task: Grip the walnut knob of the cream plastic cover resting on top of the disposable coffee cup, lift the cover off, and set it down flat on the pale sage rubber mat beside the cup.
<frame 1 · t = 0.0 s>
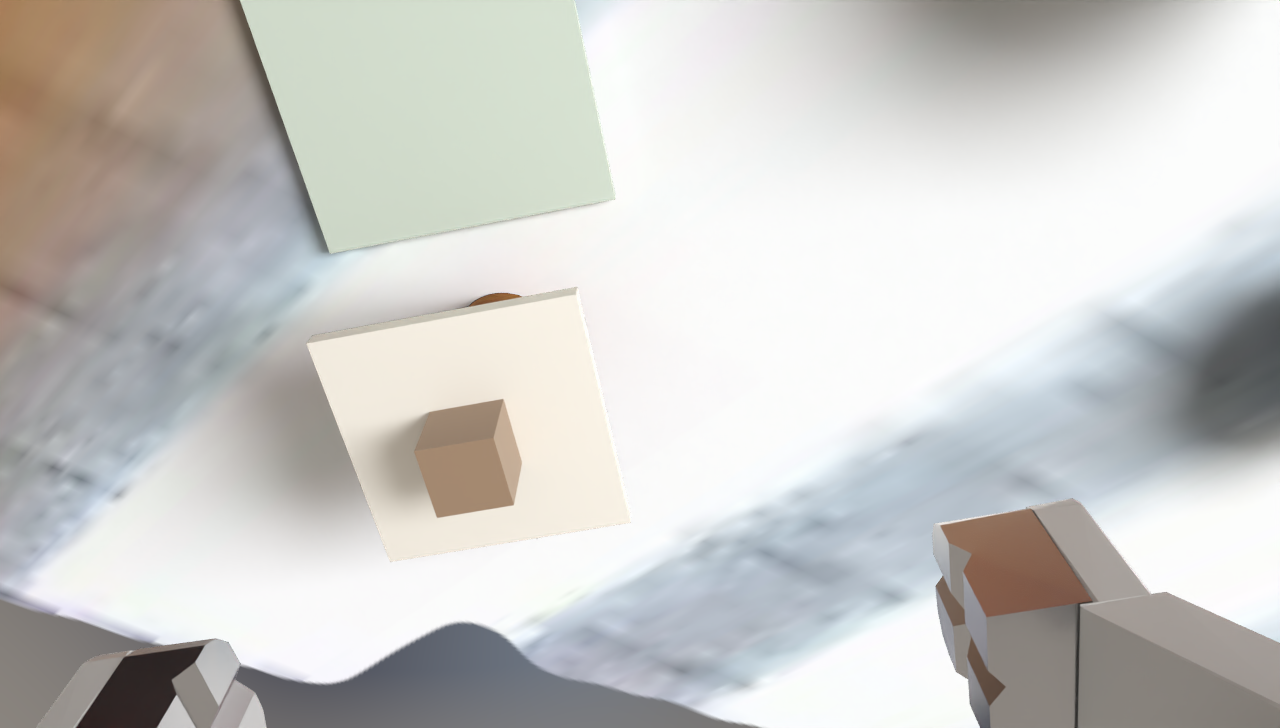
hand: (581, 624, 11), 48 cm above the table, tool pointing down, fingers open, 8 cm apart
cover: (479, 428, 51), point 12 cm above the table, touching disposable coffee cup
disposable coffee cup: (506, 335, 62), on the table, touching cover
mat: (437, 92, 55), on the table
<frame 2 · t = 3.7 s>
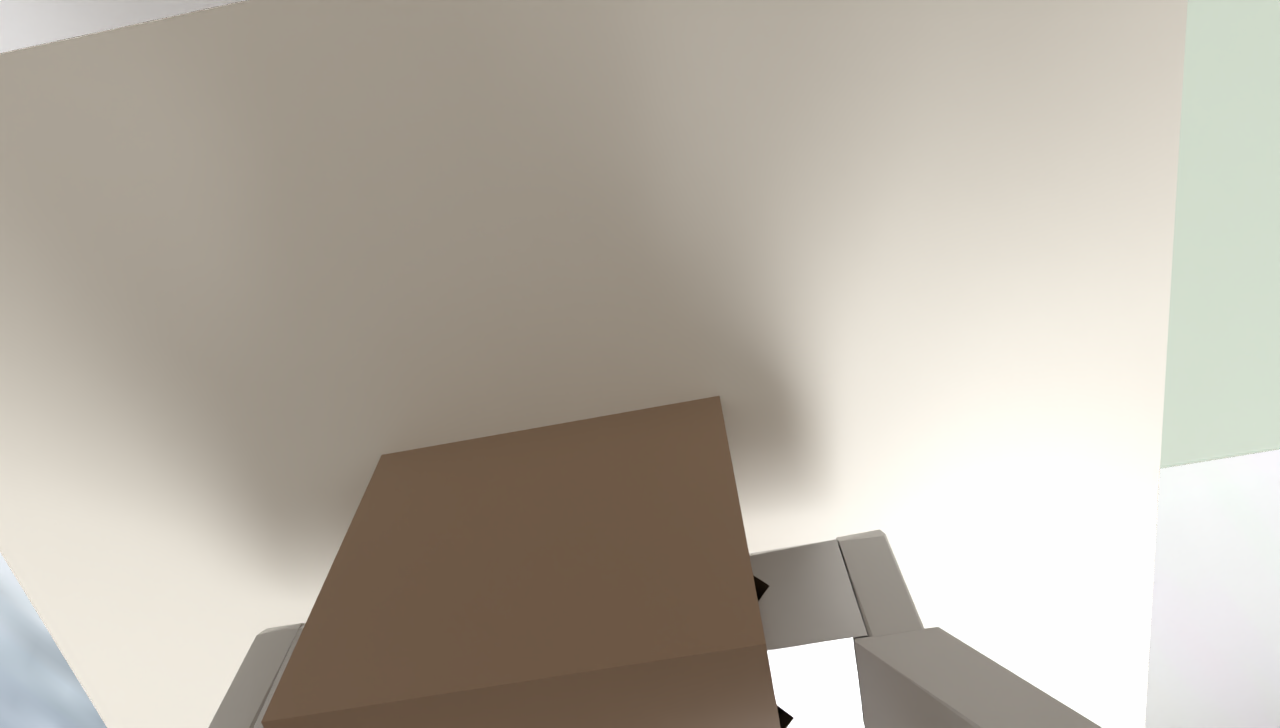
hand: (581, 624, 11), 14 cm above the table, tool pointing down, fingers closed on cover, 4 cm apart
cover: (588, 515, 13), point 12 cm above the table, touching disposable coffee cup, gripper
mat: (1270, 110, 22), on the table
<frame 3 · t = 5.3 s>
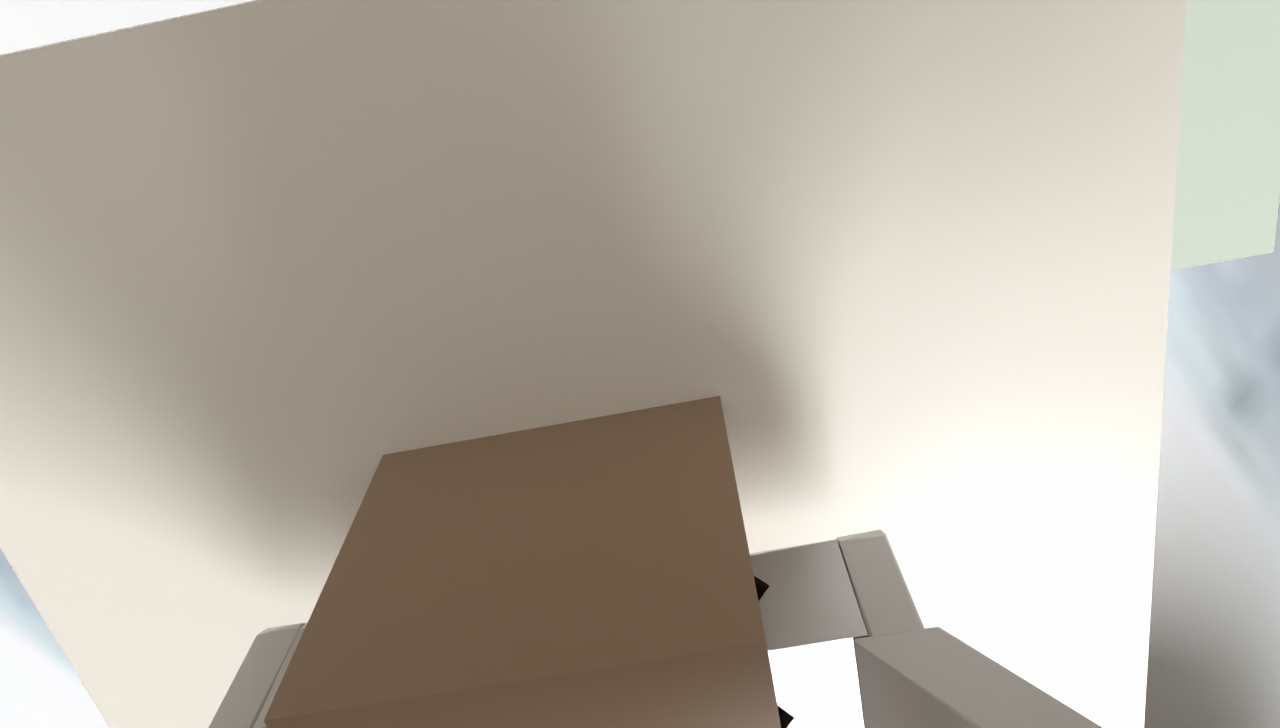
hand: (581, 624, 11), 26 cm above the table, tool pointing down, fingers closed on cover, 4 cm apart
cover: (589, 515, 13), point 24 cm above the table, touching gripper
mat: (1049, 47, 33), on the table
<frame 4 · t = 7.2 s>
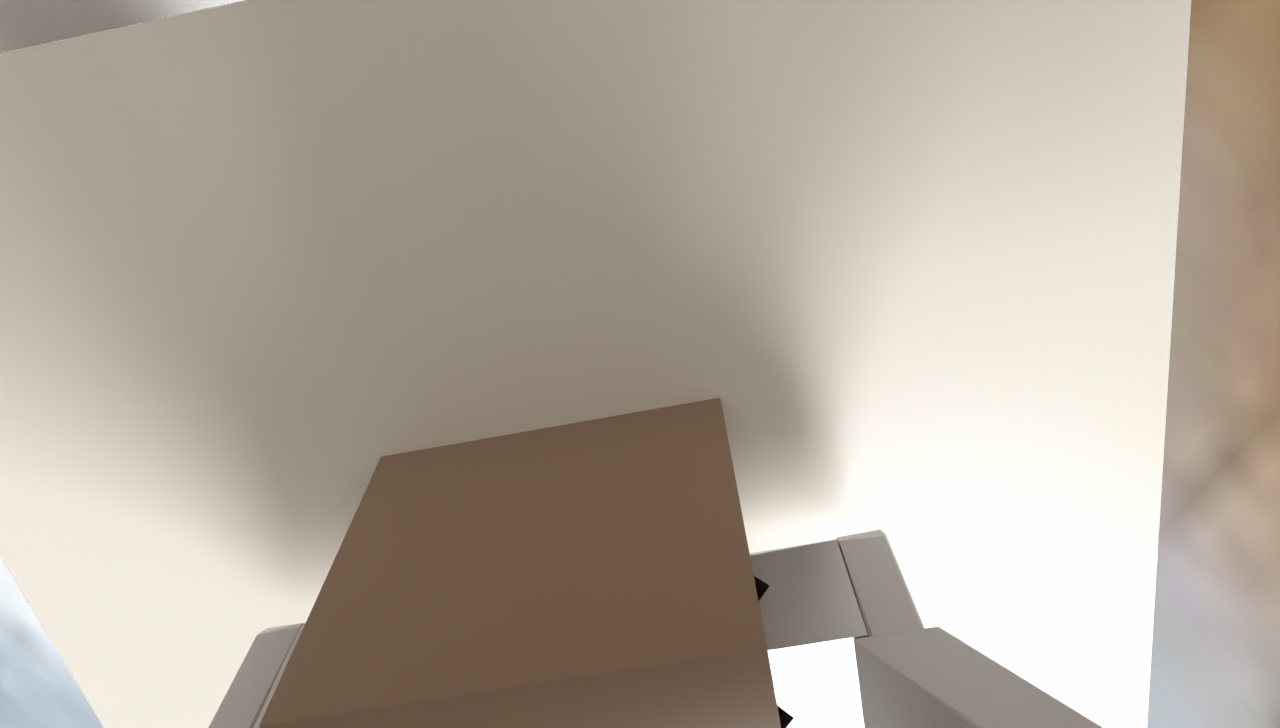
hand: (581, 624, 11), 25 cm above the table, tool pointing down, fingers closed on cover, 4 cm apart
cover: (588, 517, 13), point 23 cm above the table, touching gripper
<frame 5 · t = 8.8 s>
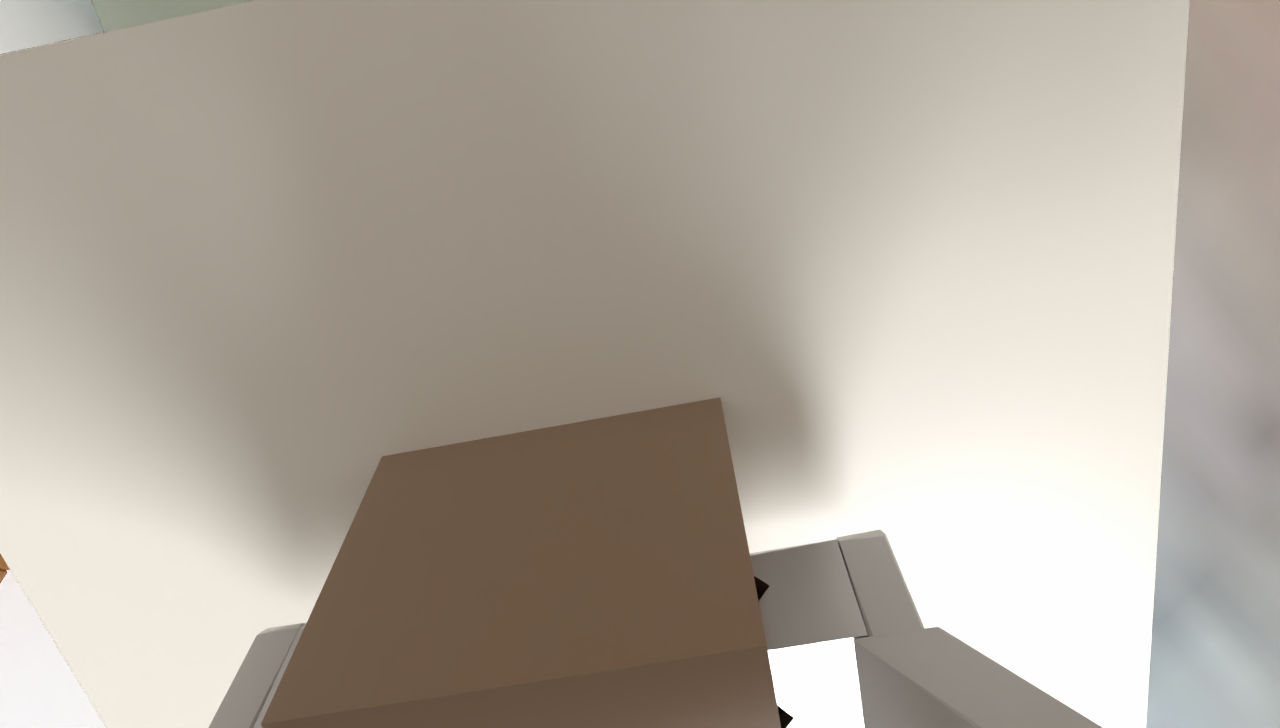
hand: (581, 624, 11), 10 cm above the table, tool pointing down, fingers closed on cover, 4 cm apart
cover: (589, 517, 13), point 8 cm above the table, touching gripper
mat: (623, 291, 20), on the table
when the fingers open (5 cm above the table, at t = 10.4 s): cover drops 1 cm, resting on mat.
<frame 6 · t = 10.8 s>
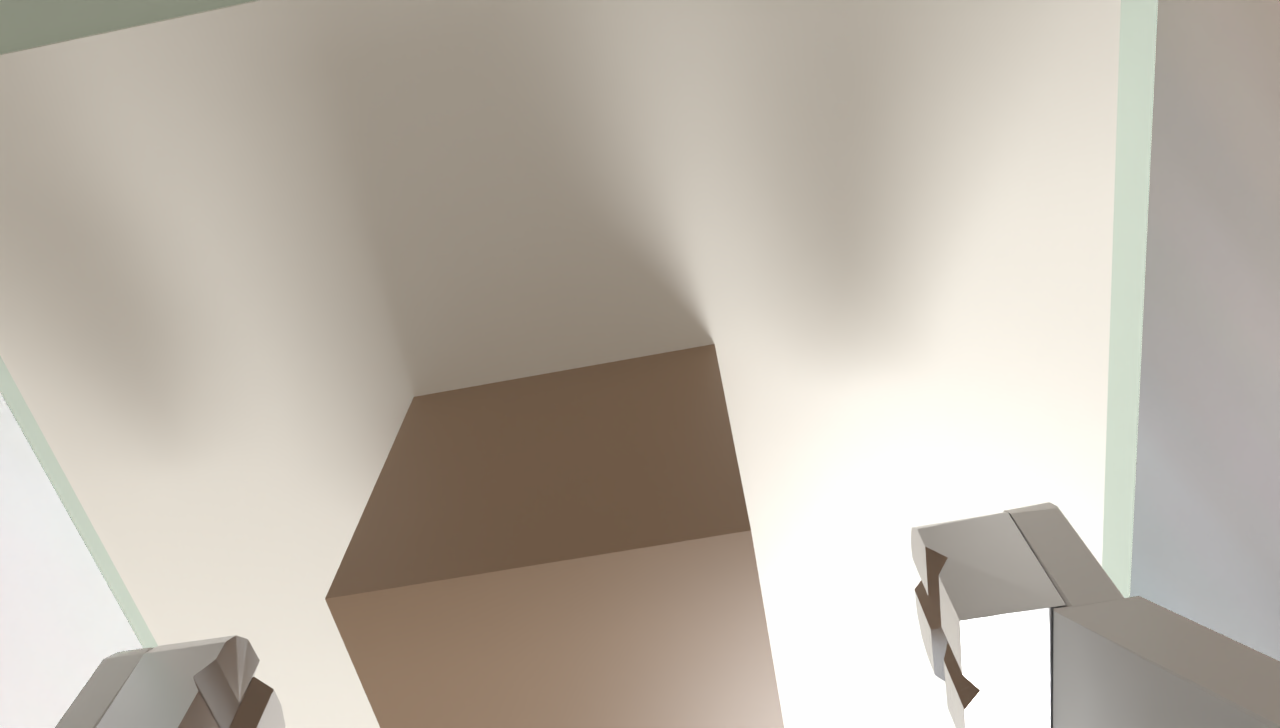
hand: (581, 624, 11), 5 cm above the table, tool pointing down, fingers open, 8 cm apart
cover: (596, 459, 14), point 1 cm above the table, touching mat
mat: (592, 423, 15), on the table
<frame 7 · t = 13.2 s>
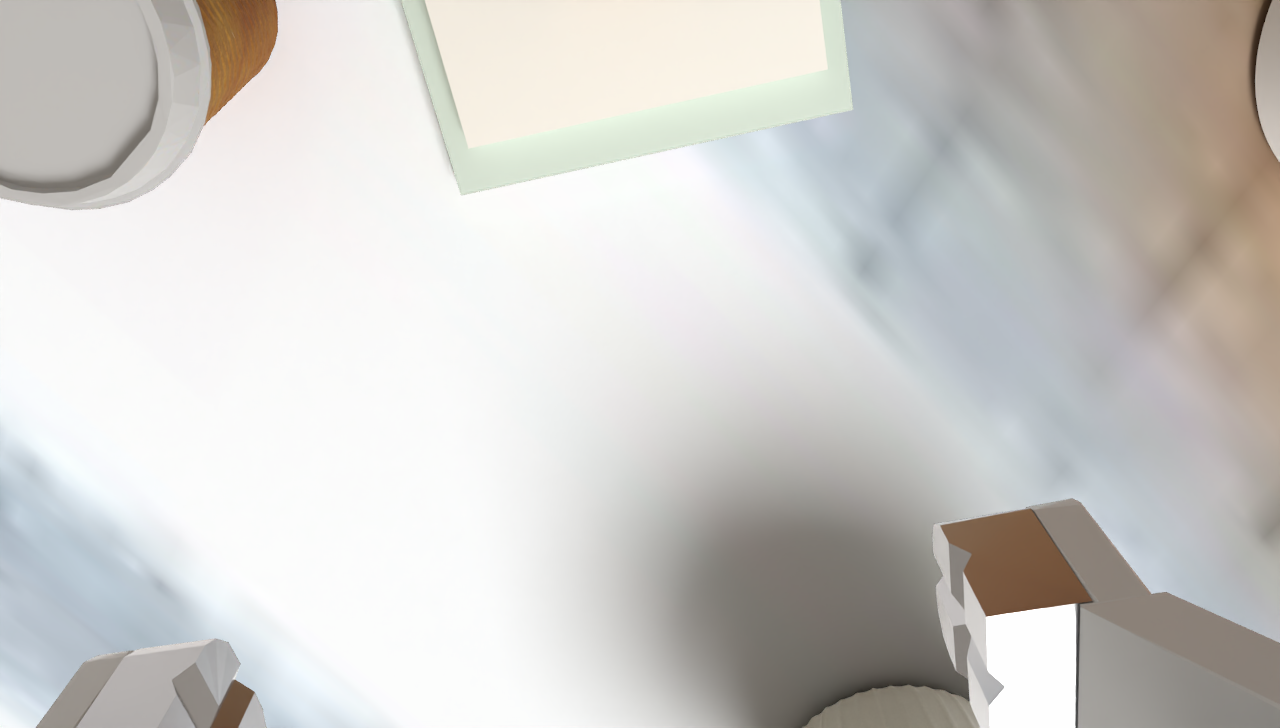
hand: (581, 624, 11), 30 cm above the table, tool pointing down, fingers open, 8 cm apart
disposable coffee cup: (197, 6, 36), on the table
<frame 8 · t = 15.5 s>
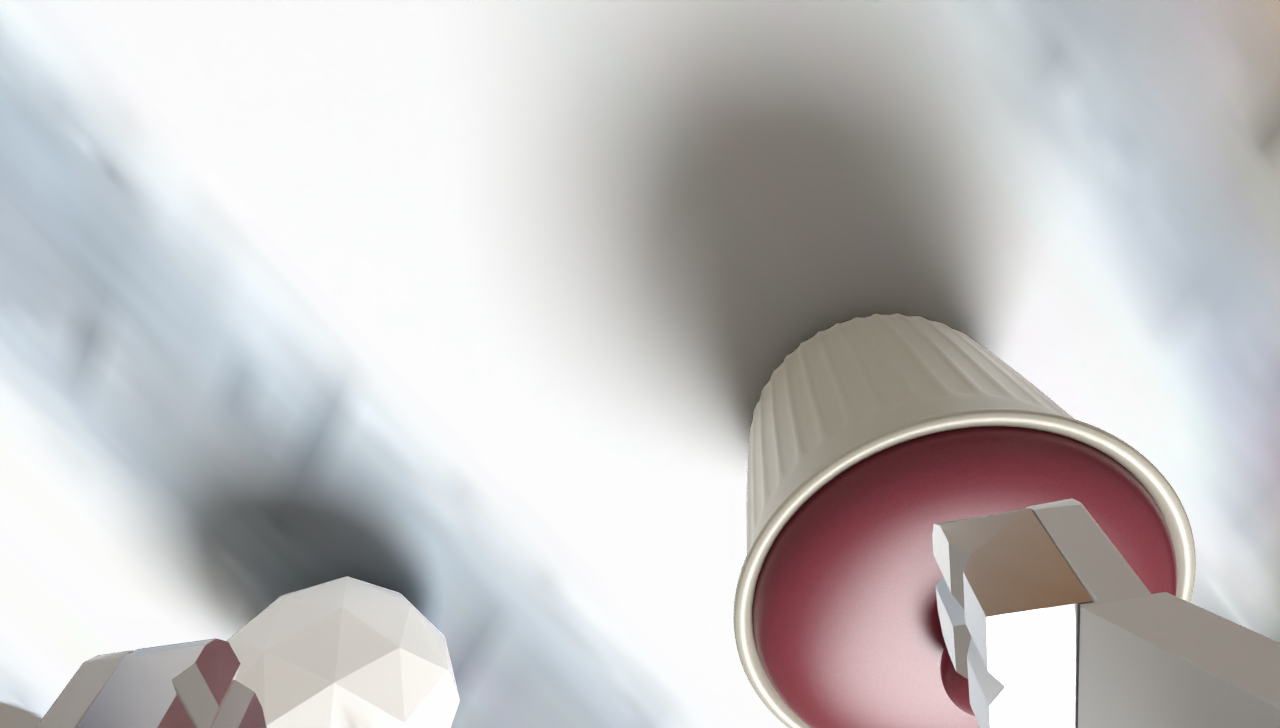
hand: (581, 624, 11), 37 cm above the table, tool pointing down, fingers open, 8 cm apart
geodesic sphere: (365, 620, 58), on the table
canister: (867, 409, 52), on the table
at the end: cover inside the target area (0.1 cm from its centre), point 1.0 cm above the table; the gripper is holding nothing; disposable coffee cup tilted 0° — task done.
